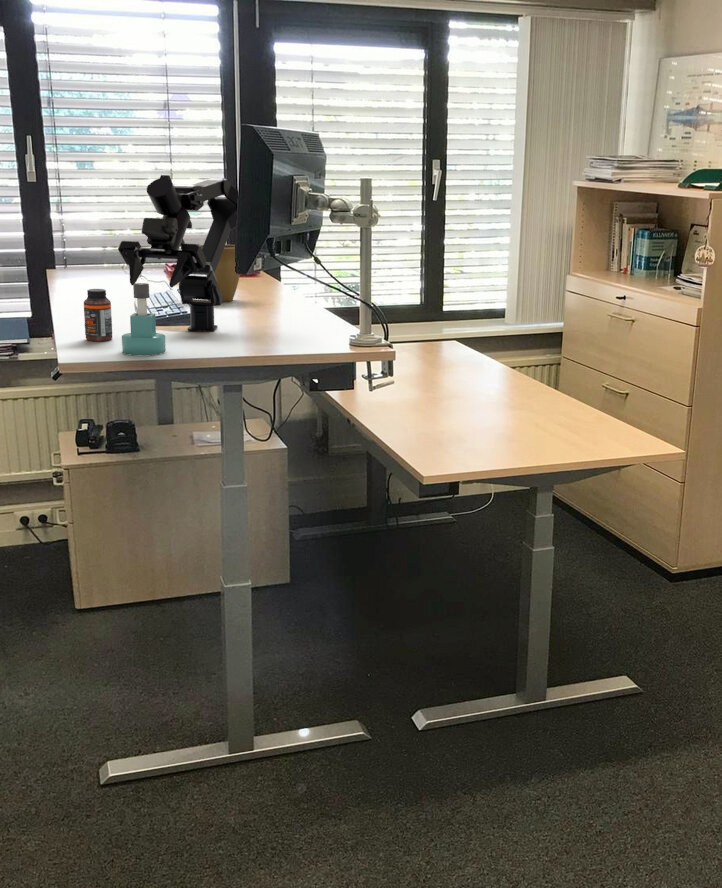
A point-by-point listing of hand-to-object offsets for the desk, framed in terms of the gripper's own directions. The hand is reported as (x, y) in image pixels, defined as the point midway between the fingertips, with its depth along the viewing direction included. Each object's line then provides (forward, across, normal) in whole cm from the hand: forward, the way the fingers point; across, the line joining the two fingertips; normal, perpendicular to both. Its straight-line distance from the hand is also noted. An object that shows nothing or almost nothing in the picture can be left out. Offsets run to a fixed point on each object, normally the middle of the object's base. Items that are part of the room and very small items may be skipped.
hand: (150, 285), depth 197 cm
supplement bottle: (+6, -16, +13) cm, 22 cm away
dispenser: (+13, 0, +7) cm, 14 cm away
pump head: (+8, 0, +2) cm, 9 cm away
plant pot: (-44, -16, +62) cm, 78 cm away
